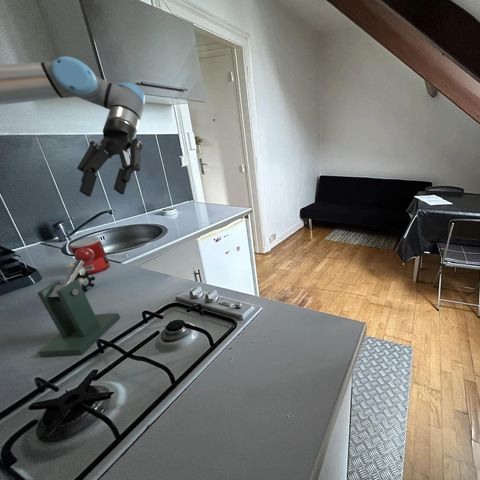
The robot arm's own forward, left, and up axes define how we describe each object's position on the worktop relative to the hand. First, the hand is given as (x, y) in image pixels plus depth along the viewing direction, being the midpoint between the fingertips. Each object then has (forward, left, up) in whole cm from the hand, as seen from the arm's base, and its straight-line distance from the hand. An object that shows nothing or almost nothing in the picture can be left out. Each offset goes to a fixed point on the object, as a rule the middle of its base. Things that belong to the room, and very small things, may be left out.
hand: (101, 192), depth 69 cm
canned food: (-24, +14, -30) cm, 41 cm away
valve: (-20, +3, -30) cm, 36 cm away
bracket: (0, -21, -30) cm, 36 cm away
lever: (0, -15, -17) cm, 23 cm away
